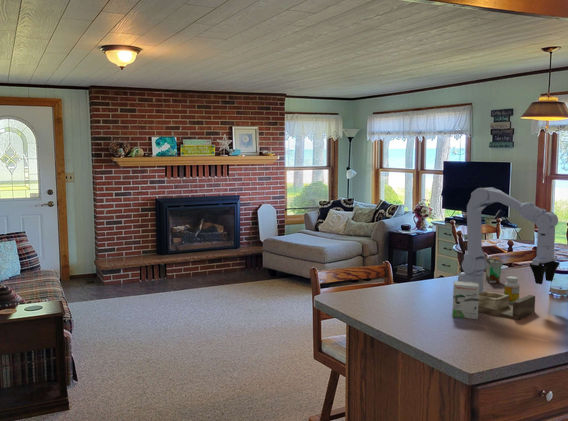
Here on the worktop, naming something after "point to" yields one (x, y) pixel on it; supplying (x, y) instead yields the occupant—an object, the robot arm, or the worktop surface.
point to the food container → (493, 270)
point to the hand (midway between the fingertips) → (543, 282)
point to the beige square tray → (493, 300)
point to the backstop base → (514, 308)
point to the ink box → (465, 300)
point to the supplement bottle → (512, 289)
